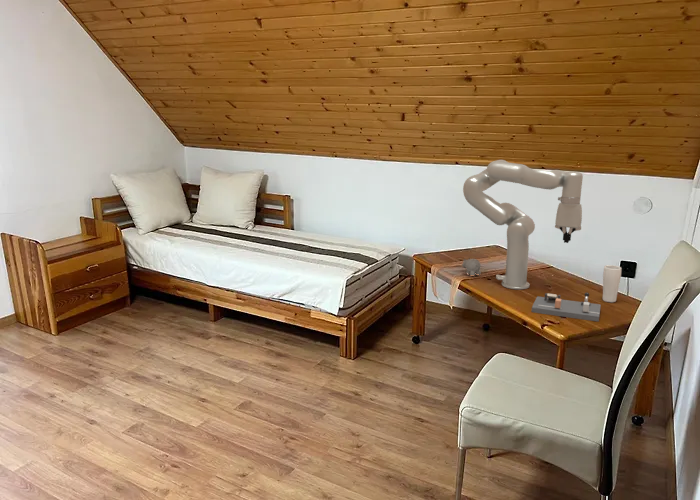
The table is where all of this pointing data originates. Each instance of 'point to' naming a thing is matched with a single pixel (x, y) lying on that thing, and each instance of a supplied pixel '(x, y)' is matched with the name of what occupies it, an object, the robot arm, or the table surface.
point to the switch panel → (566, 308)
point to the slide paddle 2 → (586, 307)
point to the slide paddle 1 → (557, 303)
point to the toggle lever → (586, 296)
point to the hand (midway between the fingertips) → (566, 242)
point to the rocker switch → (552, 296)
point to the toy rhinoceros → (472, 266)
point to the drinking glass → (611, 282)
